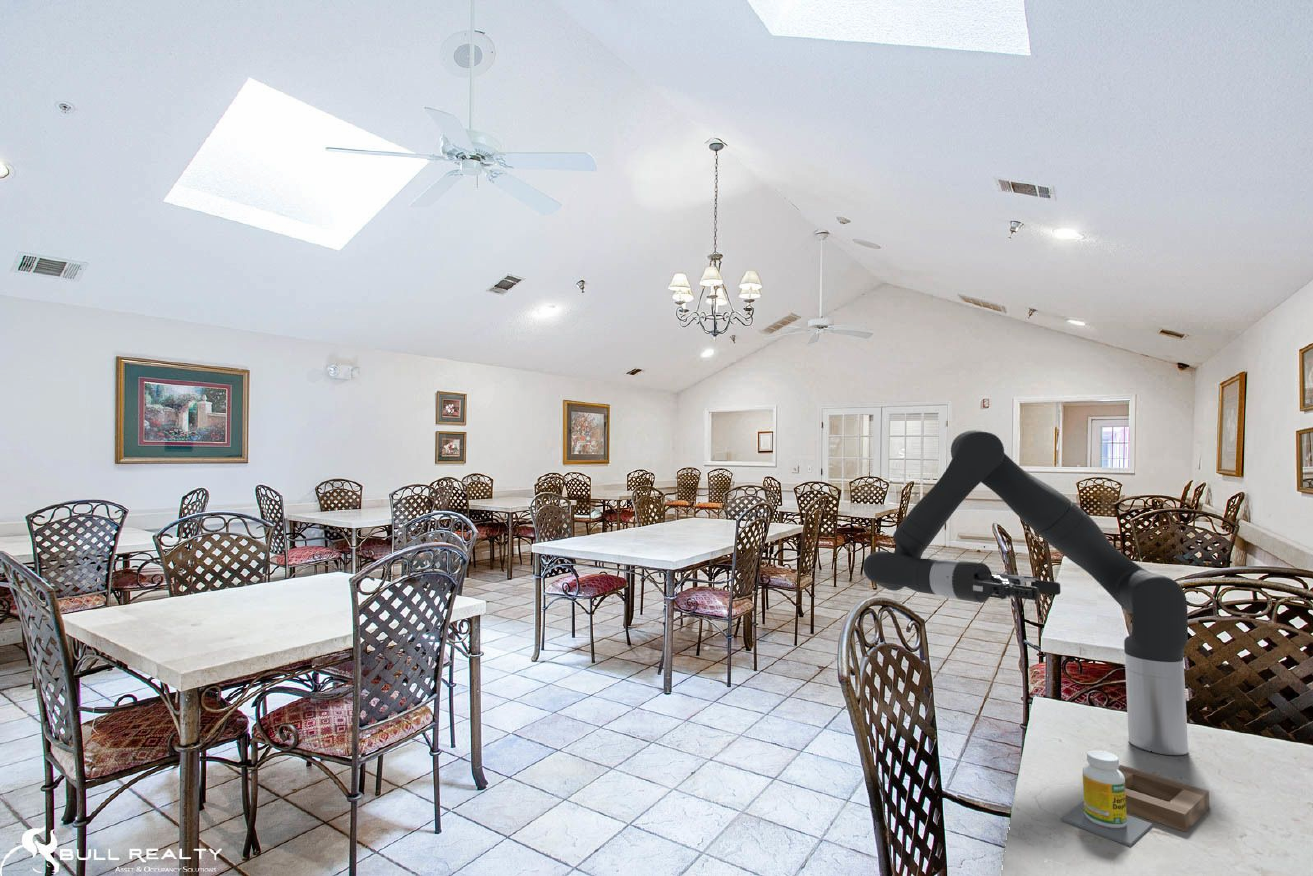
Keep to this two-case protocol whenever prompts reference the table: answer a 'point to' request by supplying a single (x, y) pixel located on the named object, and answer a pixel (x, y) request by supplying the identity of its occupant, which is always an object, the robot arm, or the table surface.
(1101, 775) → the supplement bottle
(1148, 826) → the rubber mat
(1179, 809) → the socket block
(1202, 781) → the table surface
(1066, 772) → the table surface
